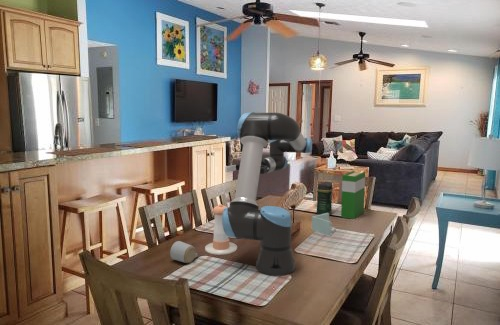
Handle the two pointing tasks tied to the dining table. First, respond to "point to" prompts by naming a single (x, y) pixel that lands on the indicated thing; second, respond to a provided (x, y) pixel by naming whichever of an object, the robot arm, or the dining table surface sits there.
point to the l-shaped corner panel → (322, 224)
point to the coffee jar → (324, 198)
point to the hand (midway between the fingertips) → (236, 170)
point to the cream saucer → (211, 250)
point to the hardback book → (353, 194)
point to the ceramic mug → (183, 252)
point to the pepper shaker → (220, 230)
